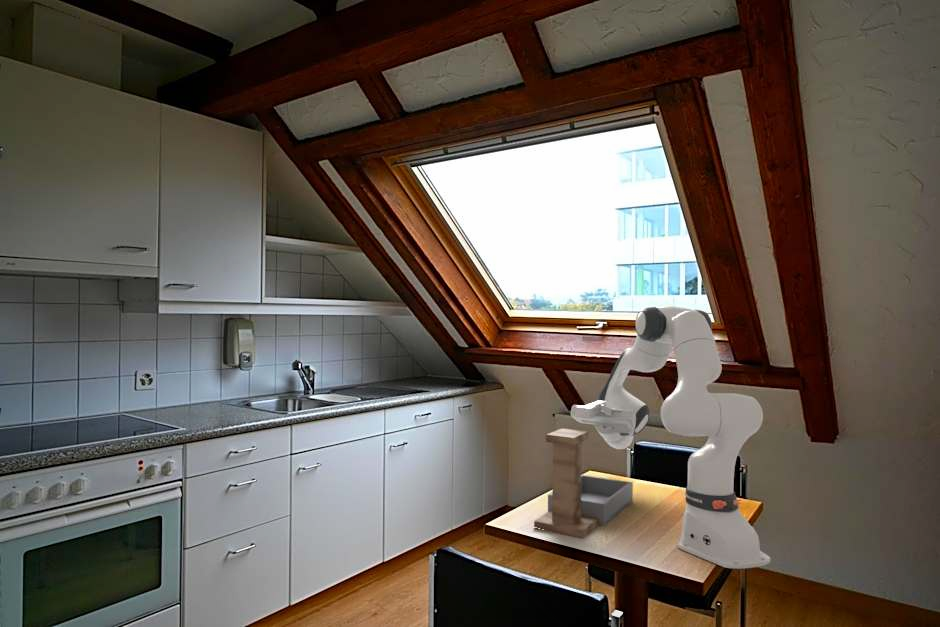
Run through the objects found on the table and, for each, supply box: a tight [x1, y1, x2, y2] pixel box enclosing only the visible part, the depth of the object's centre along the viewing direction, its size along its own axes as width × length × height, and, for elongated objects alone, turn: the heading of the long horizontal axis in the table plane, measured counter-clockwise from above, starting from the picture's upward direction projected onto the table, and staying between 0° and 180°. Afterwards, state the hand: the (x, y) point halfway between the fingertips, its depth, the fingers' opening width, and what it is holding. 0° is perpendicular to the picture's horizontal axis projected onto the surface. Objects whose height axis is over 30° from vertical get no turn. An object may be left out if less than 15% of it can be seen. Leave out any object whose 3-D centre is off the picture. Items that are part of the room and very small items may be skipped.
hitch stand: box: [533, 428, 599, 539], centre depth 175 cm, size 12×14×26 cm
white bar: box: [576, 400, 606, 419], centre depth 192 cm, size 17×4×3 cm, turn 149°
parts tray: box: [547, 474, 634, 526], centre depth 193 cm, size 27×17×6 cm, turn 149°
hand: (596, 406), depth 195 cm, fingers closed on white bar, 2 cm apart
